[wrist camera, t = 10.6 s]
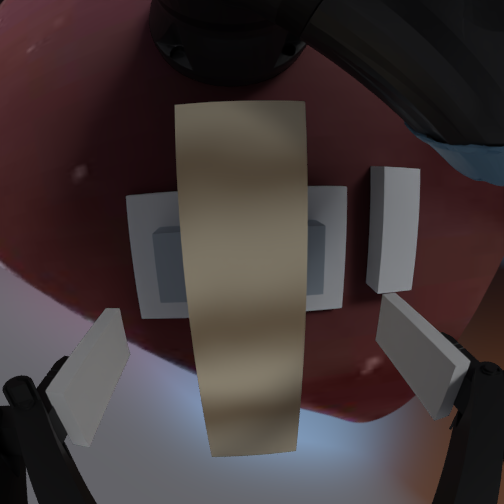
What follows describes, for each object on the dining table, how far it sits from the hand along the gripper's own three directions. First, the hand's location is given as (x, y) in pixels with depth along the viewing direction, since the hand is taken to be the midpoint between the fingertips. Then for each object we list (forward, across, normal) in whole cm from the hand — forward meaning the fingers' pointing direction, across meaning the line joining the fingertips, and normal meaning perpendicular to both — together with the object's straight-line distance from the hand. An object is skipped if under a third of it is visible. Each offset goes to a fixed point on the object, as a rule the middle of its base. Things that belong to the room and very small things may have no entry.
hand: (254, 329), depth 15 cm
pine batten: (+7, 0, 0) cm, 7 cm away
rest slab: (+16, +15, +2) cm, 21 cm away
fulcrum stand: (+15, 0, 0) cm, 15 cm away
